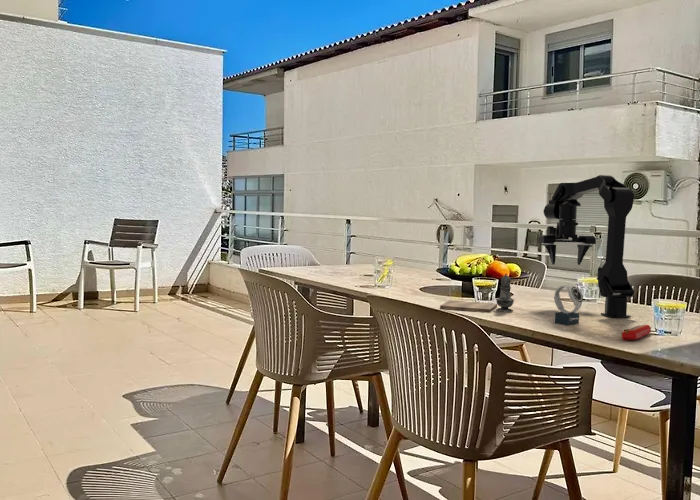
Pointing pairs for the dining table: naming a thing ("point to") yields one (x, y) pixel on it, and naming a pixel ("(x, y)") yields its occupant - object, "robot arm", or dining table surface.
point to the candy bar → (636, 332)
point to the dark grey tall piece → (505, 295)
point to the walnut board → (469, 306)
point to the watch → (564, 315)
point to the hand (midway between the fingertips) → (566, 264)
